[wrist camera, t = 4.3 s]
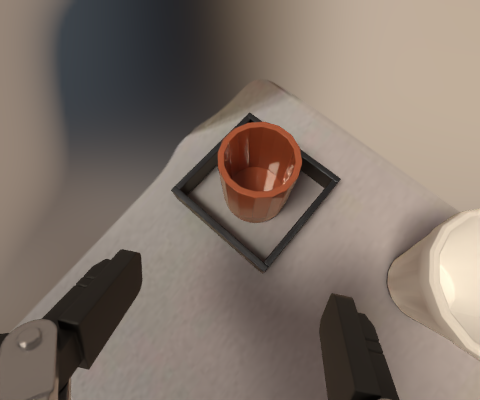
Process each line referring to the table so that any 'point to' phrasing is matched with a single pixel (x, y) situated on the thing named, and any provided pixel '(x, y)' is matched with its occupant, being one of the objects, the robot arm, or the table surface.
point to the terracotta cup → (258, 170)
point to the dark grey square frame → (185, 188)
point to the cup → (443, 281)
